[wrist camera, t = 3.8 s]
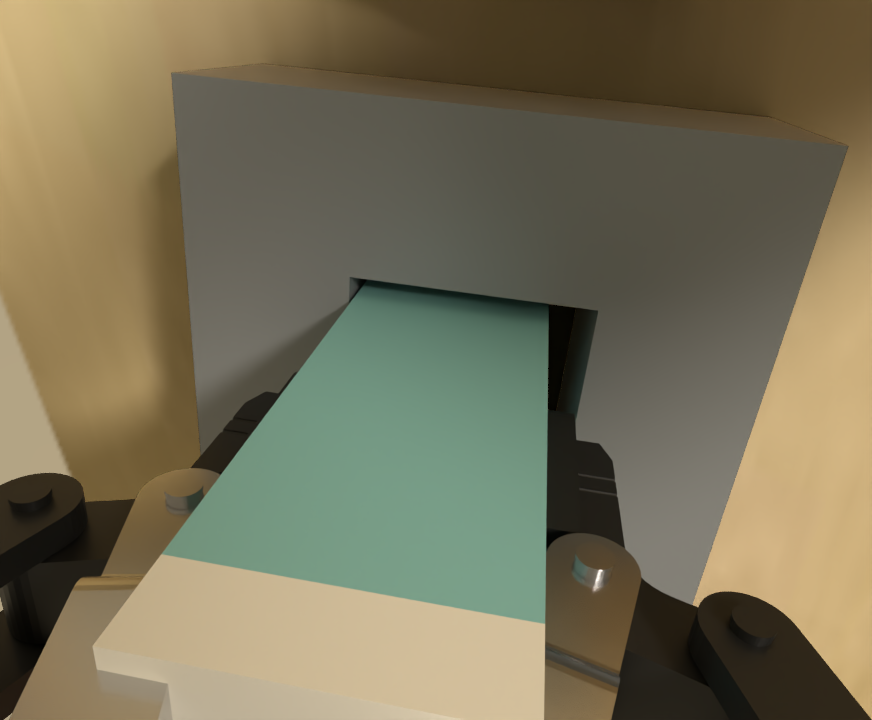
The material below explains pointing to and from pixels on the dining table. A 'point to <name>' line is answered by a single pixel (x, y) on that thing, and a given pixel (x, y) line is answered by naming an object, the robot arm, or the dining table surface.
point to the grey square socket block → (512, 254)
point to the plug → (368, 532)
